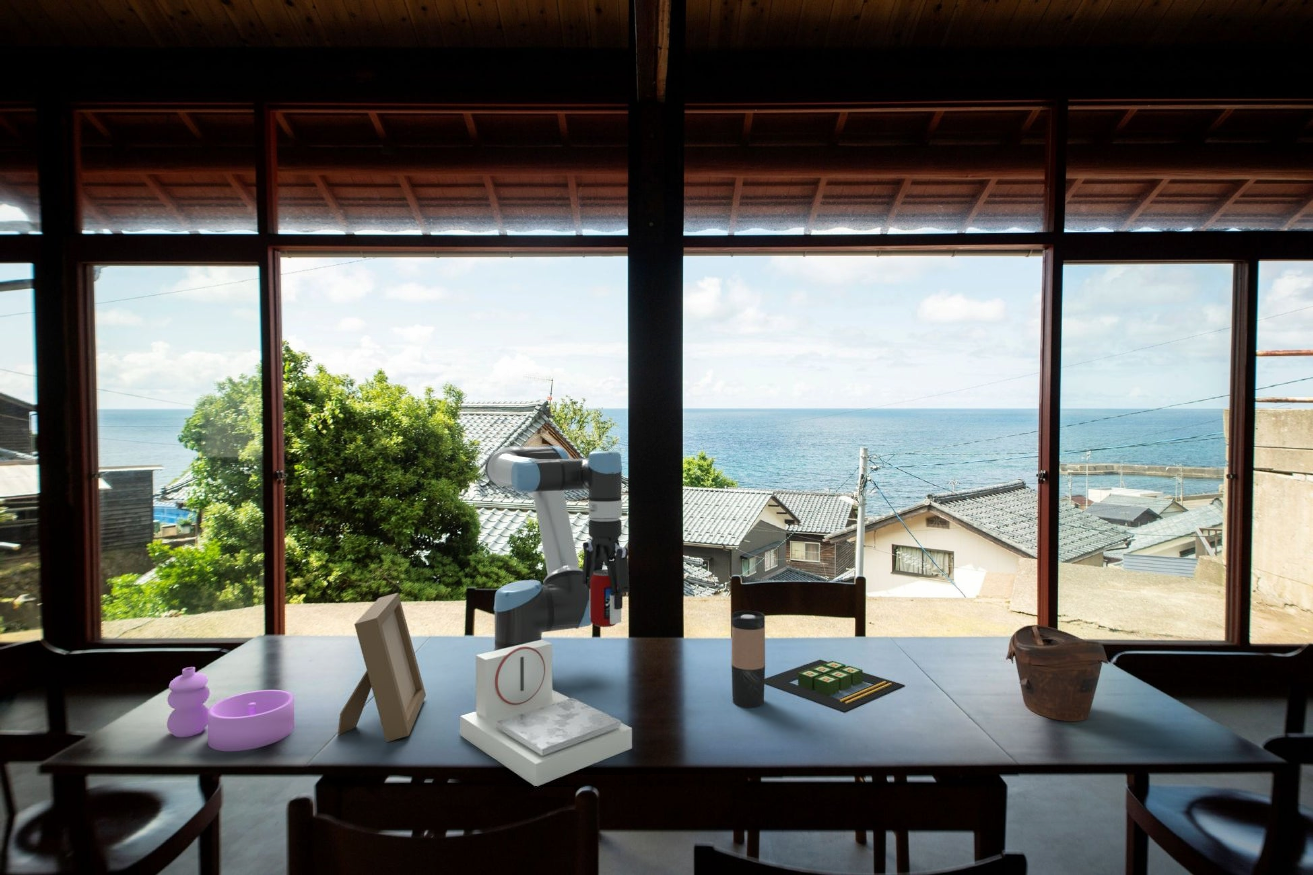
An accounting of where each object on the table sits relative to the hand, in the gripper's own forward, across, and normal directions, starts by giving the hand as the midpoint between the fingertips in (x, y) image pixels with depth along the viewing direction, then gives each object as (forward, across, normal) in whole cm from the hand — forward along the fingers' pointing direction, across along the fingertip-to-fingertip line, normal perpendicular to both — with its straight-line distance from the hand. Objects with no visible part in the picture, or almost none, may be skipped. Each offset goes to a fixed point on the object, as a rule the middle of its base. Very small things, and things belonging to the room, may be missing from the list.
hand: (605, 619), depth 161 cm
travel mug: (+19, +22, +24) cm, 38 cm away
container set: (+19, -40, -67) cm, 80 cm away
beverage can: (+1, 0, 0) cm, 1 cm away
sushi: (+20, +28, +48) cm, 59 cm away
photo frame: (+19, -25, -41) cm, 52 cm away
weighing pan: (+15, +13, -22) cm, 29 cm away
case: (+19, +71, +71) cm, 102 cm away
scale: (+19, +8, -22) cm, 30 cm away
